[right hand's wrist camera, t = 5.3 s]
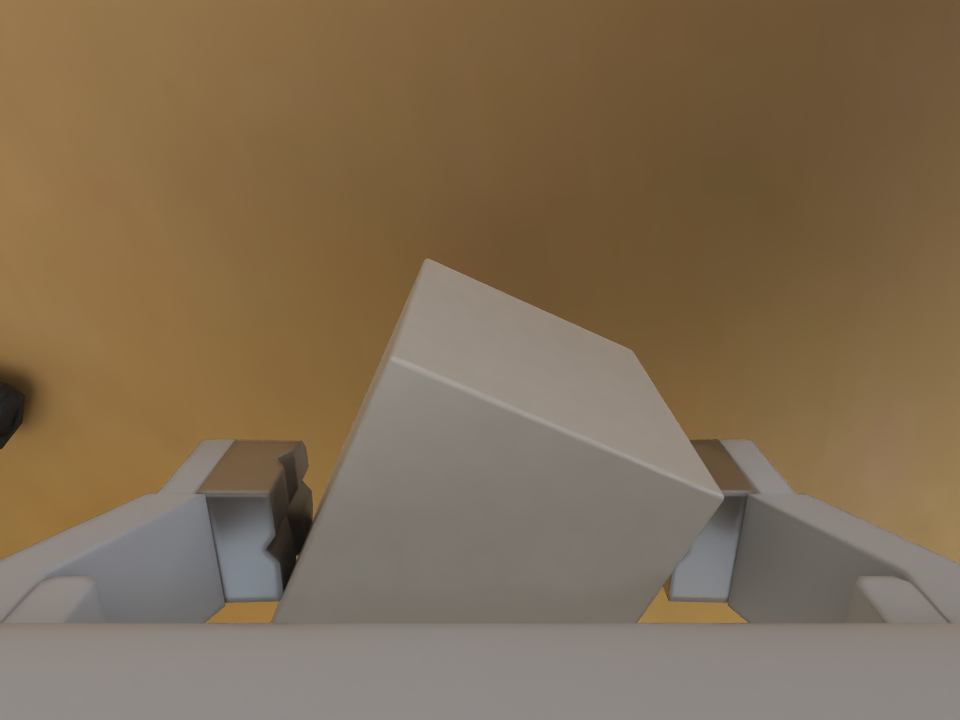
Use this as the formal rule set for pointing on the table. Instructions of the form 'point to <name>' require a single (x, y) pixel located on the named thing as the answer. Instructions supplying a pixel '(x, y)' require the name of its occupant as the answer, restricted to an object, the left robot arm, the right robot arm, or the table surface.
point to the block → (500, 475)
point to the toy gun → (10, 412)
